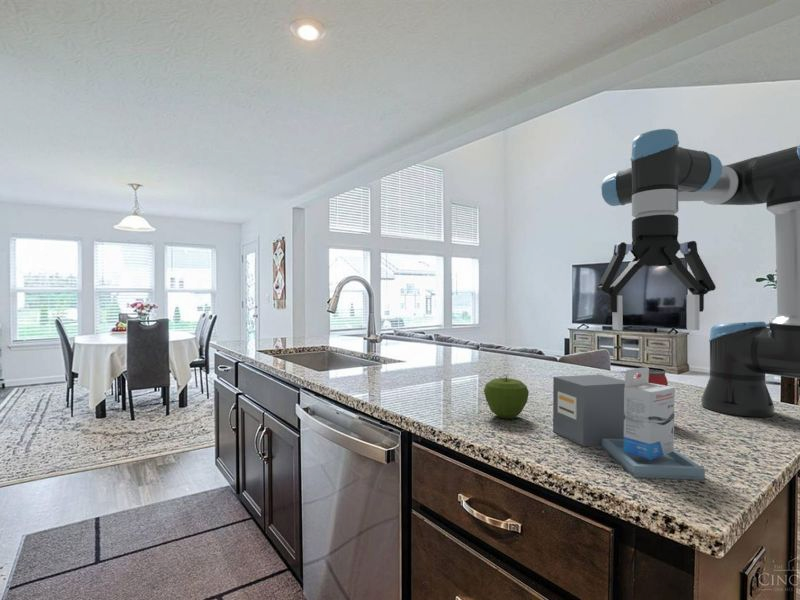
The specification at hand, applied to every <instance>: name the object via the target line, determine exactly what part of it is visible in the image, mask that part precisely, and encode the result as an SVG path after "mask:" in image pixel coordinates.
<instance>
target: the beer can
mask: <svg viewBox="0 0 800 600" xmlns="http://www.w3.org/2000/svg"><path fill="white" fill-rule="evenodd" d="M640 377H641V374H638V373H637V374H636V377H635V378H640ZM648 383H653V384H659V385H665V386H669V385H668V384H669V383H668V378H667V376H666V372H665V371H663V370H657V369H649V379H648Z"/></svg>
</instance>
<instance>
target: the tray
mask: <svg viewBox="0 0 800 600" xmlns="http://www.w3.org/2000/svg"><path fill="white" fill-rule="evenodd" d="M601 448H602V450H604V451H605V452H606V453H607V454H608V455H609V456H610V457H611V458H613V459H614V461H615V462H616V463H618V464H619V465H620V466H621V467H622V468H623V469H624V470H625V471H626V472H628V473H629V474H630V475H631V476H632V477H633V478H643V479H644V478H647V479H648V478H649V479H651V478H653V479H668V480H669V479H674V480H697V481H705V480H706V479H705V478H706V468H704V467H703V466H701V465H700V464H698V463H696V462H695V461H693V460H692V459H691V458H689V457H687V455H686V456H685V455H684V454H683V453H681V452H680V451H678V450H676V449H675V448H674V451H673V452H671V453H668V454H665V455H663V456H660V457H657V458H655V459H652V460H648V459H645V458H642V457H638V456H635V455H632V454H628V453H625V452H624V439H604V438H602V445H601Z"/></svg>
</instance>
